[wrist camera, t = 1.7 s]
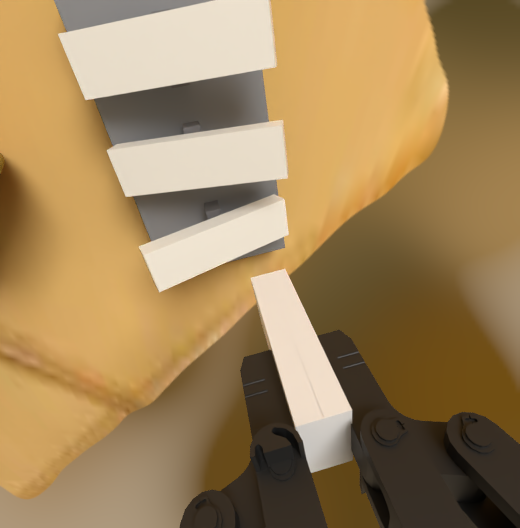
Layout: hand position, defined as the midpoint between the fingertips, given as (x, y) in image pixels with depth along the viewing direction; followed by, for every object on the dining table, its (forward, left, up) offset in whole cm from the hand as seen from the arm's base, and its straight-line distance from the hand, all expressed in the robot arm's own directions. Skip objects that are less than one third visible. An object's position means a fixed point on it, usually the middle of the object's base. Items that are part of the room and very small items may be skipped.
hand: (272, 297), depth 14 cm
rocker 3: (-2, -3, -12) cm, 13 cm away
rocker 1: (-2, +10, -12) cm, 16 cm away
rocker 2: (-2, +3, -12) cm, 13 cm away
